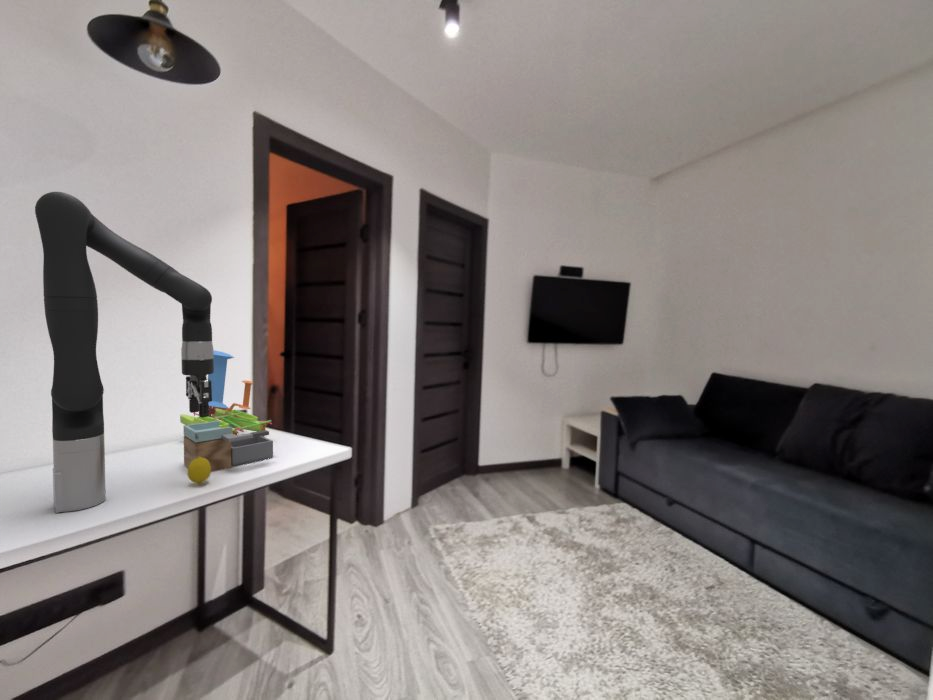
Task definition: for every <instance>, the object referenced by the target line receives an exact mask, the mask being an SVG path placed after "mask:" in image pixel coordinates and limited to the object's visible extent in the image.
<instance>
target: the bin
mask: <svg viewBox="0 0 933 700" xmlns="http://www.w3.org/2000/svg"><path fill="white" fill-rule="evenodd" d="M272 457H273V458H274V441H273V440H272V439H271V438H268V437H266V436H265V437H263V436H260V437H254V438H248V439H243V440H237V441H231V468H234V466H235V467H238V465H239V466H243V464H244V465H247V463H248V464H252V462H253V463H256V462H255V461H257V462H261V461H260V460H262V461H265V460H264V459H266V460H269V459H268V458H271V459H273V458H272Z"/></svg>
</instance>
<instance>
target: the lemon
mask: <svg viewBox="0 0 933 700" xmlns="http://www.w3.org/2000/svg"><path fill="white" fill-rule="evenodd" d="M211 473H212V472H211V466H210V463H209V461H208V460H207V459H205V458H202V457H197V458H196V459H194V460H193V461H192V462H191V463H190V464H189V467H188V468H187V477H188V479H189V480H190V481H191V482H192V483H195V484H197V485H201V484H203V482H205V481H206V480H208V479H209V478H210V476H211Z"/></svg>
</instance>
